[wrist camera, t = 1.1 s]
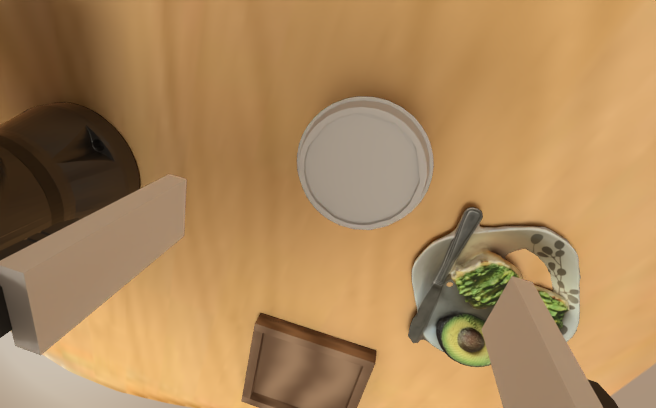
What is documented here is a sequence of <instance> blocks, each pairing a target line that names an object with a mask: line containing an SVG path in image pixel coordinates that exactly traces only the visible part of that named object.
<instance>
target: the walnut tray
mask: <svg viewBox="0 0 656 408" xmlns="http://www.w3.org/2000/svg"><path fill="white" fill-rule="evenodd" d="M375 360H376V351H375V350H372V349H369V348H366V347H363V346H360V345H357V344H354V343H351V342H348V341H345V340H342V339H339V338H336V337H333V336H330V335H327V334H324V333H320V332H317V331H314V330H311V329H308V328H305V327H302V326H299V325H296V324H293V323H290V322H287V321H284V320H281V319H278V318H275V317H272V316H269V315H266V314H263V313H260V315H259V317H258V319H257V321H256V323H255V326H254V332H253V338H252V343H251V349H250V355H249V361H248V366H247V372H246V378H245V384H244V389H243V395H242V402H245V403H248V404H250V405H253V406H256V407H259V408H357V406H358V404H359V402H360V399H361V397H362V394H363V392H364V389H365V387H366V385H367V382H368V380H369V377H370V375H371V372H372V370H373V368H374V365H375Z"/></svg>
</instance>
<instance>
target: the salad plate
mask: <svg viewBox="0 0 656 408" xmlns="http://www.w3.org/2000/svg"><path fill="white" fill-rule="evenodd" d="M482 218H483V214H482V211H481V210H479V209H478V208H475V207H469V208H467V209H466V210H465V211H464V213H463V215H462V217H461V219H460V221H459V223H458V225H457V227H456V229H455V230H454V231H453V232H451V233H450V234H448V235H446V236H444V237H442V238H440V239H437V240H435V241H433V242H432V243H431V244H430V245H429V246H428V247H427V248H426V249H425V250H424V251H423V252H422V253H421V254H420V255H419V257H417V258H416V259H415V262H414V265H413V268H412V285H413V290H414V296H415V301H416V306H417V314H416V316H415V317H414V318H413V320H412V323H411V325H410V329H409V334H408V336H409V338H410V339H411V340H412V342H413V343H418V342H419V341H420V340H422V339H424V340H426V341H428V342H429V343H431V344H432V345H433V346H434V347H436V348H437V349H439V350H441V351H443V352H445V353H446V354H447V355H448V356H449V357H450V358H451V359H453V360H454V361H457V362H458V363H460V364H463V365H467V366H471V367H484V366H489V365H491V362H490V358H489V355H488V351H487V348H486V344H485V341H484V337H483V334H482V330H481V329H482V327H483V326H484V324H485V322H486V320H487V319H488V317H489V315H490V313H491V312H492V310H493V308H494V306H495V305H496V303H497V301H498V299H499V298H500V296H501V294H502V292H503V291H504V289H505V287H506V285H507V284H508V282H509V280H510V278H511V277H512V276H513V277H517V278H520V279H523V277H522V274H521V272H520V271H519V269H518V268H517V267H516V266H514V265H513V264H512V263H510V262H508V261H507V260H506V258H505V256H506V255H507V254H508V253H511V252H514V251H517V250H520V249H527V250H529V251H530V252H532V253H534V254H535V255H537V256H538V257H539V259H541V260H542V261H543V262H544V263H545V265H546V266H547V268H548V271H549V272H550V274H551V281H552V286H553V290H552V291H550V290H547V289H545V288H544V287H539V286H537V285H534V286H535V287H536V289H537V291H538V293H539V295H540V296H541V298H542V300H543V302H544V303H545V305H546V307H547V309H548V310H549V312H550V314H551V316H552V318H553V319H554V321H555V323H556V325H557V326H558V328H559V330H560V332H561V333H562V335H563V337H564V339H565V341H566V342H567V341H568V340H569V339H571V338H572V337H573V335H574V334H575V332H576V331H577V327H578V324H579V316H580V298H579V293H580V287H579V283H580V278H581V277H580V274H579V273H580V270H579V260H578V255H577V253H576V251H575V250H574V248H573V247H572V246H571V245H570V244H569V242H568V241H567V240H566V239H565V238H563V237H561V236H560V235H559V234H557V233H555V232H553V231H552V230H551V229H549V228H546V227H539V226H502V227H481V226H480V222H481V220H482ZM448 282H452V283H453V286H451V287H447V286H446V284H447V283H448Z"/></svg>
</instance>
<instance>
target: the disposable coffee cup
mask: <svg viewBox="0 0 656 408" xmlns="http://www.w3.org/2000/svg"><path fill="white" fill-rule="evenodd" d="M297 170H298V174H299V179H300V182H301V184H302V188H303V190H304V192H305V194H306V196H307V198H308V199H309V201H310V202H311V204H312V205H313V206H314V208H315V209H316V210H317V211H319V212H320V213H321V214H322V215H323V216H324V217H326V218H327V219H329V220H330V221H332V222H334V223H336V224H338V225H341V226H344V227H348V228H352V229H362V230H372V229H376V228H381V227H385V226H388V225H390V224H392V223H394V222H396V221H398V220H400V219H402V218H403V217H404V216H406V215H407V214H409V213H410V212H412V210H413V209H414V208H415V207H416V206H417V205H418V204H419V203H420V202H421V201H422V199H423V197H424V196H425V194H426V192H427V191H428V188H429V185H430V182H431V179H432V174H433V153H432V149H431V144H430V141H429V139H428V136H427V134H426V133H425V131H424V129H423V127H422V126H421V125H420V124H419V122H418V121H417V120H416V119H415V118H414V116H413V115H411V114H410V113H409V112H407V111H406V110H405V109H403V108H402V107H401V106H399V105H397V104H394V103H392V102H390V101H388V100H385V99H381V98H376V97H368V96H367V97H352V98H347V99H344V100H341V101H338V102H336V103H333V104H331V105H330V106H328V107H327V108H325V109H324V110H322V111H321V112H320V113H319V114H318V115H316V116H315V117H314V118H313V120H312V121H311V122H310V124H309V125H308V126H307V128H306V129H305V131H304V133H303V135H302V138H301V141H300V143H299V147H298V153H297Z"/></svg>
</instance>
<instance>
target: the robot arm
mask: <svg viewBox="0 0 656 408" xmlns="http://www.w3.org/2000/svg"><path fill="white" fill-rule="evenodd" d="M186 183H187V179H185V178H182V177H178V176H175V175H171V174H168V175H166V176H164V177H162V178H160V179H158V180H156V181H154V182H153V183H151V184H149V185H147V186H145V187H143V188H141V189H139V174H138V169H137V165H136V162H135V160H134V157H133V155H132V153H131V151H130V149H129V147H128V145H127V144H126V142H125V141H124V139H123V138H122V137H121V135H120V134H119V133H118V132H117V131H116V129H115V128H114V127H113V126H112V125H111V124H110V123H109V122H107V121H106V120H105V119H104V118H102V117H101V116H100V115H98V114H97V113H95V112H93V111H92V110H90V109H88V108H86V107H83V106H80V105H77V104H73V103H66V102H60V103H52V104H45V105H39V106H36V107H33V108H30V109H28V110H26V111H24V112H23V113H21V114H20V115H18V116H16V117H14V118H12V119H10V120H9V121H7V122H5V123H3V124H2V125H0V338H1V337H2V336H4V335H5V334H6V333H8V332H9V331H11V330H12V334H13V338H14V342H15V346H17V347H20V348H23V349H25V350H28V351H31V352H34V353H36V354H39V355H41V354H43V353H44V352H45V351H46V350H47V349H49V348H50V347H51V346H52V345H53V344H55V343H56V342H57V341H58V340H60V339H61V338H62V337H63V336H64V335H66V334H67V333H68V332H69V331H70V330H72V329H73V328H74V327H75V326H76V325H78V324H79V323H80V322H81V321H82V320H84V319H85V318H86V317H87V316H88V315H90V314H91V313H92V312H93V311H94V310H96V309H97V308H98V307H99V306H100V305H102V304H103V303H104V302H105V301H106V300H108V299H109V298H110V297H111V296H112V295H114V294H115V293H116V292H117V291H118V290H120V289H121V288H122V287H123V286H124V285H126V284H127V283H128V282H129V281H131V280H132V279H133V278H134V277H135V276H137V275H138V274H139V273H140V272H141V271H143V270H144V269H145V268H146V267H147V266H149V265H150V264H151V263H152V262H153V261H155V260H156V259H157V258H158V257H159V256H161V255H162V254H163V253H164V252H165V251H167V250H168V249H169V248H170V247H171V246H173V245H174V244H175V243H176V242H177V241H179V240H180V239H181V238H182V237H183V236H184V228H185V206H186ZM481 330H482V334H483V337H484V341H485V344H486V348H487V351H488V355H489V358H490V362H491V366H492V369H493V373H494V376H495V380H496V383H497V387H498V390H499V394H500V397H501V401H502V404H503V408H618V406H617V404H616V403H615V401H614V400H613V399H612V398H611V397H610V396H609V395H608V394H607V392H606V391H605V390H604V389H603V388H602V387H601V386H600V385H599V384H598V383H597V382H594V381H591V380H588V379H587V378H586V376H585V374H584V372H583V371H582V369H581V367H580V365H579V364H578V362H577V360H576V358H575V357H574V355H573V353H572V351H571V349H570V348H569V346H568V344H567V342H566V341H565V339H564V337H563V335H562V333H561V332H560V330H559V328H558V326H557V325H556V323H555V321H554V319H553V318H552V316H551V314H550V312H549V310H548V309H547V307H546V305H545V303H544V302H543V300H542V298H541V296H540V295H539V293H538V291H537V289H536V287H535V286H534V284H533V282H530V281H527V280H523V279H520V278H517V277H513V276H512V277H511V278H510V280H509V282H508V284H507V285H506V287H505V289H504V291H503V292H502V294H501V296H500V298H499V299H498V301H497V303H496V305H495V306H494V308H493V310H492V312H491V313H490V315H489V317H488V319H487V320H486V322H485V324H484V326H483V327H482V329H481Z"/></svg>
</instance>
